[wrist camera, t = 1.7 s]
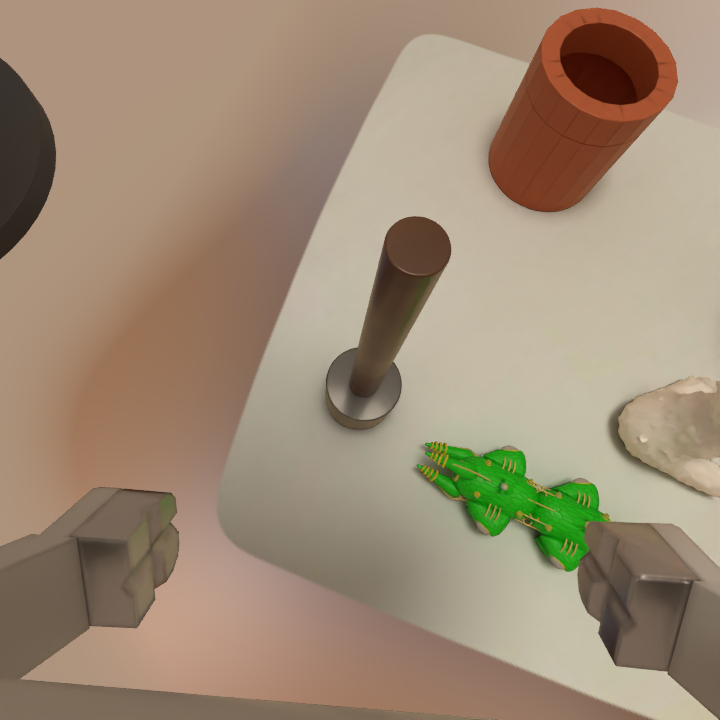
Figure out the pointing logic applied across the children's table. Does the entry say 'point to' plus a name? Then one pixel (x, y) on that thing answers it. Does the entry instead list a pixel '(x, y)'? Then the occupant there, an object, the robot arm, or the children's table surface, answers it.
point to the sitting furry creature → (677, 431)
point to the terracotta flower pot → (580, 107)
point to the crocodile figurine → (518, 499)
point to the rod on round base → (387, 323)
